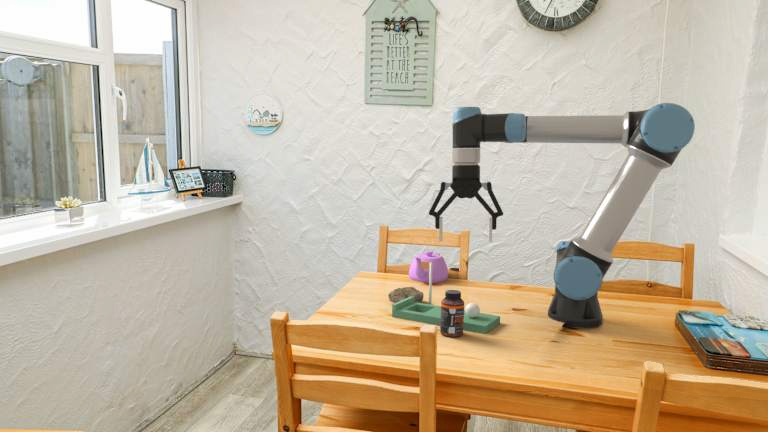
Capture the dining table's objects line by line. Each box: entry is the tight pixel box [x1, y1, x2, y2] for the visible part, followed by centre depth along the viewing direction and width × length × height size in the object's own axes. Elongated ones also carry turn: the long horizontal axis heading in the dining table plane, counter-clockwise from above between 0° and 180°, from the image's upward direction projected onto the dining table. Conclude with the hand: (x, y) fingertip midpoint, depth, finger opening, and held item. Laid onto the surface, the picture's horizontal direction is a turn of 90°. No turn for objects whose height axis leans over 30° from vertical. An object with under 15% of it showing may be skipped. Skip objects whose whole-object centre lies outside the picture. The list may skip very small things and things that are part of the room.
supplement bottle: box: [439, 289, 465, 338], centre depth 152 cm, size 6×6×11 cm
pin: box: [421, 261, 433, 305], centre depth 174 cm, size 5×3×14 cm, turn 59°
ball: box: [464, 302, 481, 318], centre depth 160 cm, size 4×4×4 cm
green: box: [391, 296, 501, 335], centre depth 165 cm, size 28×11×4 cm, turn 59°
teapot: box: [408, 250, 449, 284], centre depth 210 cm, size 13×20×11 cm
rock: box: [388, 286, 425, 304], centre depth 181 cm, size 8×11×4 cm
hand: (465, 241), depth 164 cm, fingers open, 13 cm apart
